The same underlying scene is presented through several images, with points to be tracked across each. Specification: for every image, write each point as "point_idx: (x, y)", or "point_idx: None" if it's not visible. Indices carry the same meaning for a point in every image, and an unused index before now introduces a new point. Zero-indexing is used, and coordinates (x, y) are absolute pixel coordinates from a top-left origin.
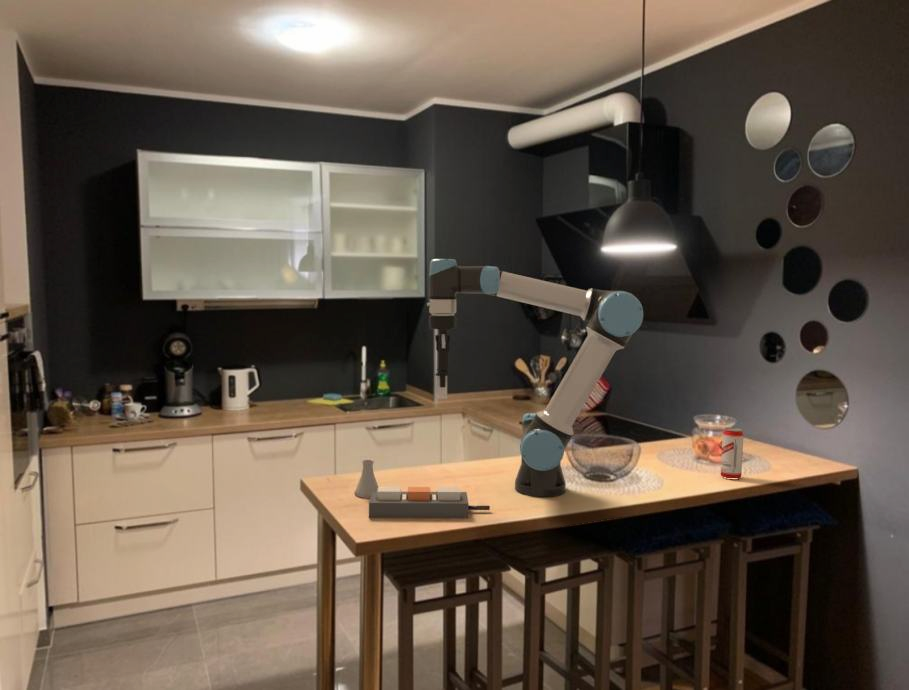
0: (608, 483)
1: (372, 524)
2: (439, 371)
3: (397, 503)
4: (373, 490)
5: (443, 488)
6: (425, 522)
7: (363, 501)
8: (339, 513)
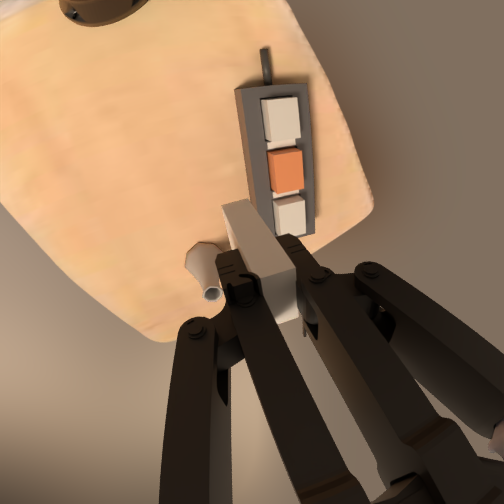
0: None
1: (327, 211)
2: (380, 311)
3: (313, 194)
4: (216, 253)
5: (279, 130)
6: (317, 145)
7: None
8: None
